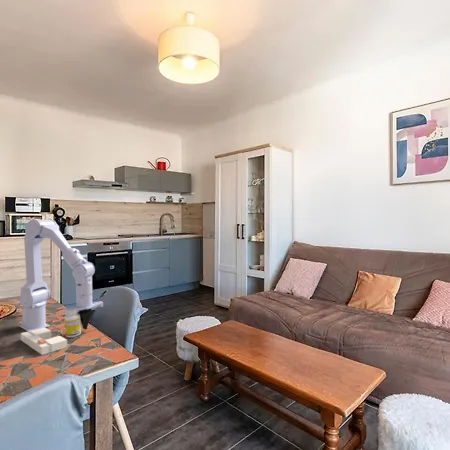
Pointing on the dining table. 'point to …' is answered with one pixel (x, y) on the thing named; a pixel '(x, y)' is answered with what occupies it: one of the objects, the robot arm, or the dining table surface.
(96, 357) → the dining table surface
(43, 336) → the socket dock
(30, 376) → the dining table surface
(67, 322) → the supplement bottle
